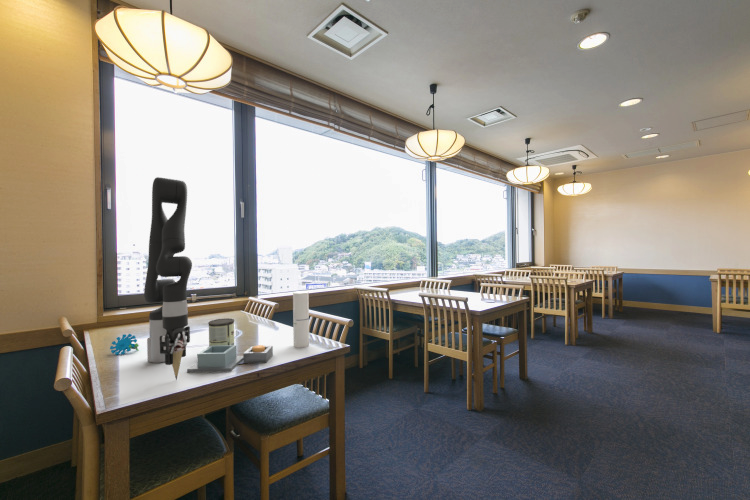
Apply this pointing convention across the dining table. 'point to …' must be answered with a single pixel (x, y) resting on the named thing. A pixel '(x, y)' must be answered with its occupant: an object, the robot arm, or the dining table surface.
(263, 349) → the button
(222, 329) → the coffee can
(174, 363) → the ice cream cone
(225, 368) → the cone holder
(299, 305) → the cylindrical container
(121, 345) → the blue knobby piece
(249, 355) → the button housing
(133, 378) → the dining table surface
